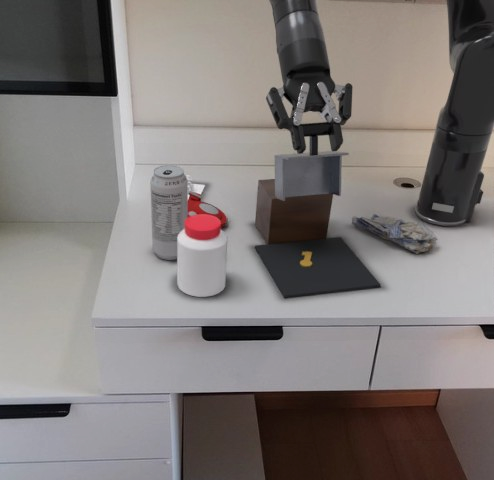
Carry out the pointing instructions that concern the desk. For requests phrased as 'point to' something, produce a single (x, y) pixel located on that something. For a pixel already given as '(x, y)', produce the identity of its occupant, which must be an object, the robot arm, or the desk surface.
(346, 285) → the mat
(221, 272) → the pill bottle
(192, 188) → the adhesive hook
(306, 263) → the brass key
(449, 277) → the desk surface
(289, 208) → the stand
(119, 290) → the desk surface
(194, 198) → the tracker holder
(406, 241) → the mineral specimen
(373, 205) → the desk surface
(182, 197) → the energy drink can
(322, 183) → the key caddy
